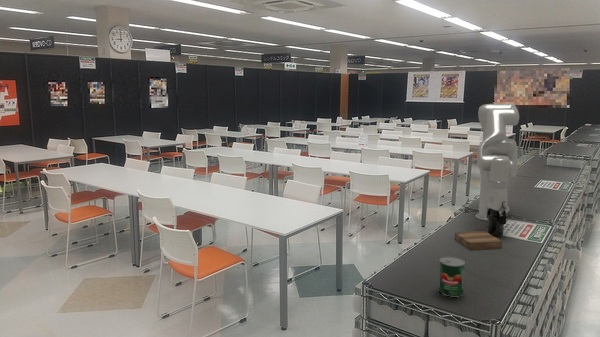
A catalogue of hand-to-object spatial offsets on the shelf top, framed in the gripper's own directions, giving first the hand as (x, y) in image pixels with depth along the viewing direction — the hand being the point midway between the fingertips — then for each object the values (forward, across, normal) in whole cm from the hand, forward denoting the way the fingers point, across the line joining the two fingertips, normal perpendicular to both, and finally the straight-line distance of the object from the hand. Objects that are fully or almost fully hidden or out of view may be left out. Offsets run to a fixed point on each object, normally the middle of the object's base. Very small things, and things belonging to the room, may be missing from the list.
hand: (496, 221), depth 191 cm
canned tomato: (+9, +51, -46) cm, 69 cm away
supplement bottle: (+7, -1, 0) cm, 7 cm away
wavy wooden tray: (+7, +9, -14) cm, 18 cm away
